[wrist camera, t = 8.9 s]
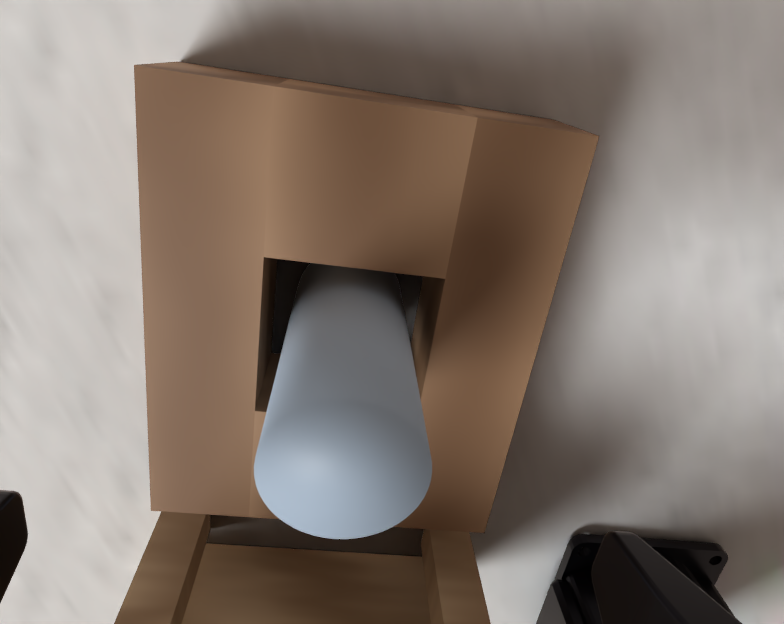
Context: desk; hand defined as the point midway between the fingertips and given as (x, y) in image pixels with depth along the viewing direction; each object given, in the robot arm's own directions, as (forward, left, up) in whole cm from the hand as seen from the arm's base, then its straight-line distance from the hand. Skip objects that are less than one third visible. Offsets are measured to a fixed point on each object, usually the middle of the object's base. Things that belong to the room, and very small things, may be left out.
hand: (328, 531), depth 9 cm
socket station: (0, +3, -10) cm, 10 cm away
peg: (0, 0, -10) cm, 10 cm away
